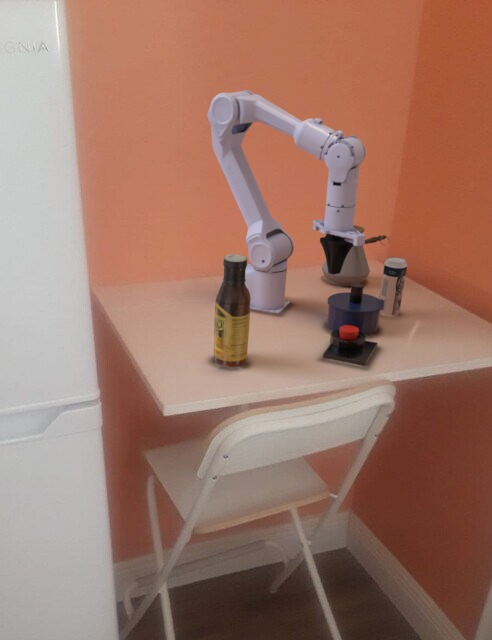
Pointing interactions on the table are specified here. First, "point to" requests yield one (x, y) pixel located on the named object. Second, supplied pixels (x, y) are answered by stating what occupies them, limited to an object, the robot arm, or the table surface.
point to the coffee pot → (353, 264)
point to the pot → (353, 320)
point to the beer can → (392, 285)
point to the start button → (348, 332)
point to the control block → (350, 349)
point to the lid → (355, 301)
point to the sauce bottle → (232, 314)
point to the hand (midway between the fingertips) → (334, 273)
